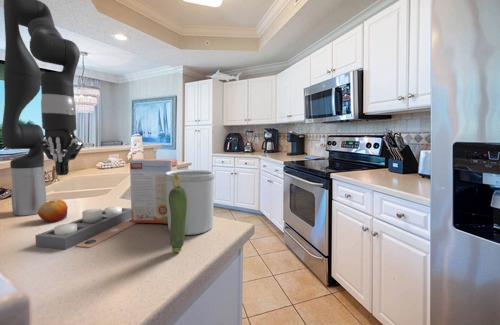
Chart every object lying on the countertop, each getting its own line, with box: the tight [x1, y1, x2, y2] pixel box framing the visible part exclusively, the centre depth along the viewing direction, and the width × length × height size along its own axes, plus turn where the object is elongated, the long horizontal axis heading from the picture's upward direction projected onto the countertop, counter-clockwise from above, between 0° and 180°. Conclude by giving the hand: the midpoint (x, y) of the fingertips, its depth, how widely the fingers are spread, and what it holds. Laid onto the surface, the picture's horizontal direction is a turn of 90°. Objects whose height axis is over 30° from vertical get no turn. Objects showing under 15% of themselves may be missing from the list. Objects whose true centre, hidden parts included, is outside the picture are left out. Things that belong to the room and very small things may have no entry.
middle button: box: [81, 208, 103, 224], centre depth 76 cm, size 5×5×3 cm
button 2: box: [104, 205, 123, 215], centre depth 85 cm, size 5×5×3 cm
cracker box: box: [129, 158, 179, 225], centre depth 82 cm, size 14×6×21 cm, turn 84°
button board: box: [34, 207, 132, 250], centre depth 76 cm, size 9×27×3 cm, turn 170°
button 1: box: [53, 222, 77, 236], centre depth 67 cm, size 5×5×3 cm
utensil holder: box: [165, 169, 216, 236], centre depth 77 cm, size 15×15×18 cm
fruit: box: [37, 199, 68, 223], centre depth 85 cm, size 8×8×8 cm
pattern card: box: [74, 218, 139, 249], centre depth 75 cm, size 4×23×1 cm, turn 170°
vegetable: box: [169, 172, 187, 254], centre depth 61 cm, size 4×4×20 cm
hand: (62, 174), depth 70 cm, fingers closed
